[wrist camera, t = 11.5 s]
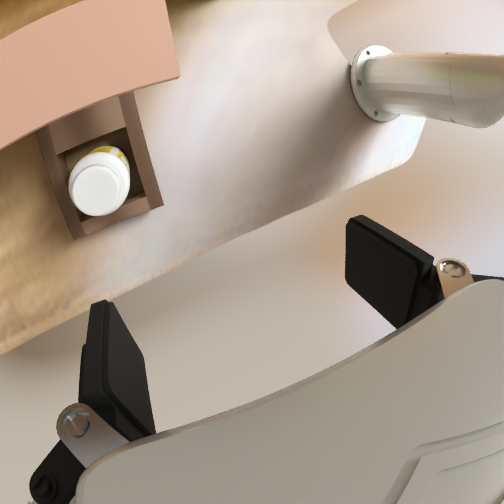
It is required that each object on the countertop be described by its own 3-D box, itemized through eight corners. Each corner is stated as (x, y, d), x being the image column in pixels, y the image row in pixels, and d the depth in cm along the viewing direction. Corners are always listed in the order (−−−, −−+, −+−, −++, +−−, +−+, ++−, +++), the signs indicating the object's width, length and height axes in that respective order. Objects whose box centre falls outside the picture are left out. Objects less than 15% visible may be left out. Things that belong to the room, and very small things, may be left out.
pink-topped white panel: (146, 36, 23) (161, -20, 11) (159, 96, 27) (180, 76, 15) (12, 89, 19) (-53, 78, 7) (26, 149, 23) (-36, 172, 11)
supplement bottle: (72, 179, 26) (50, 205, 18) (99, 135, 26) (84, 141, 17) (113, 203, 30) (107, 238, 21) (139, 161, 29) (143, 178, 21)
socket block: (129, 80, 24) (129, 75, 22) (161, 197, 32) (164, 205, 29) (40, 116, 22) (31, 115, 19) (78, 230, 29) (74, 240, 26)
